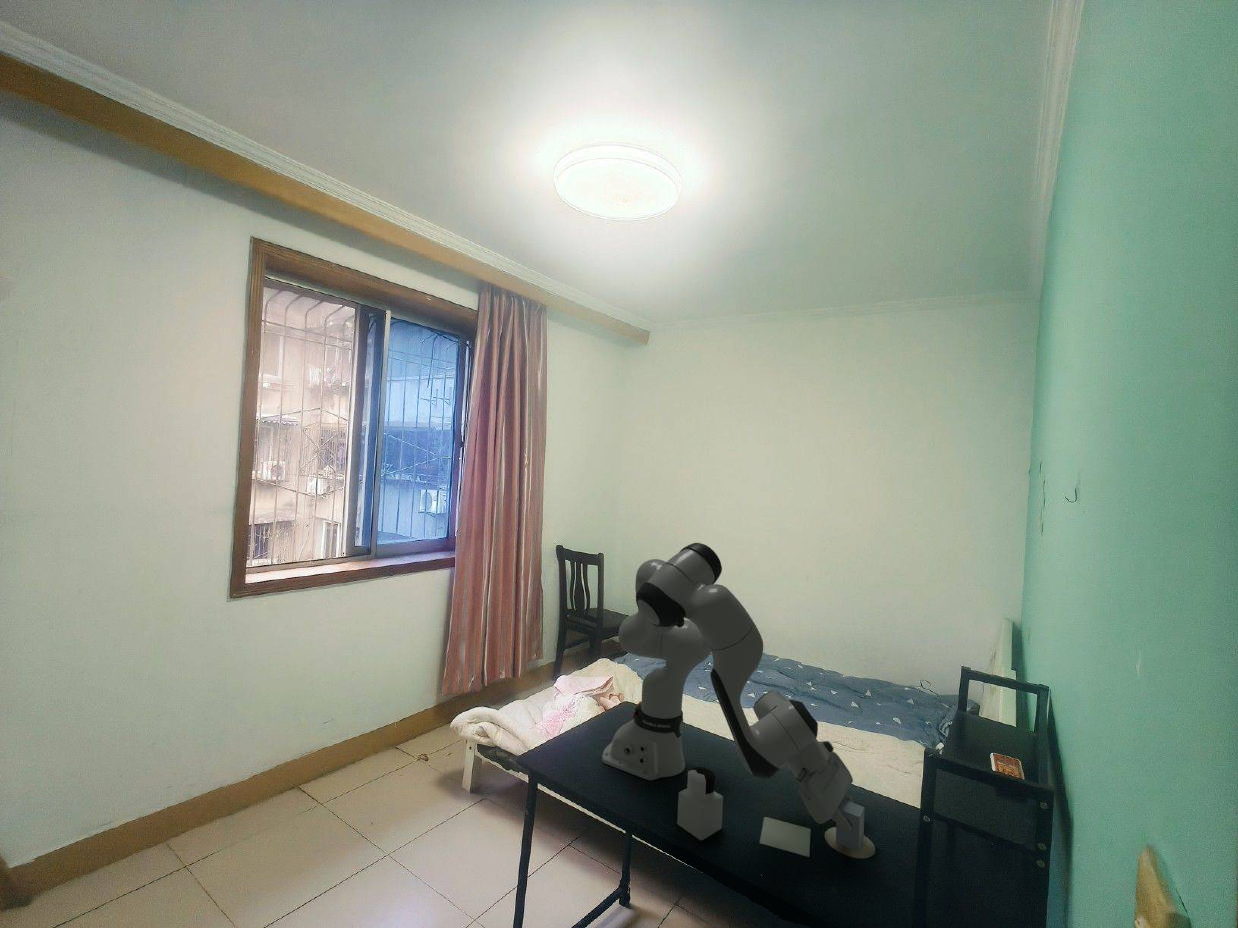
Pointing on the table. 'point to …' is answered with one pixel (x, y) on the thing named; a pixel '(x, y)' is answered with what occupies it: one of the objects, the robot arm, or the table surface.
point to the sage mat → (786, 836)
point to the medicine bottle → (700, 804)
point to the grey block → (856, 834)
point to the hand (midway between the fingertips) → (853, 823)
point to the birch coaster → (864, 852)
